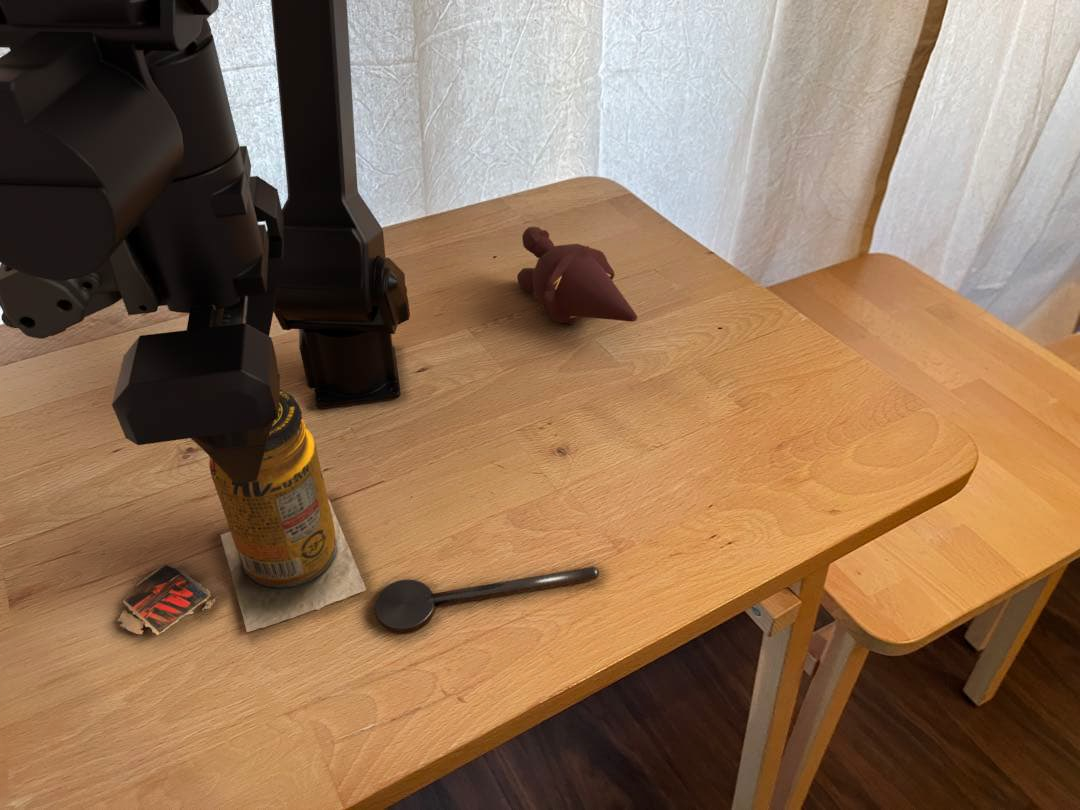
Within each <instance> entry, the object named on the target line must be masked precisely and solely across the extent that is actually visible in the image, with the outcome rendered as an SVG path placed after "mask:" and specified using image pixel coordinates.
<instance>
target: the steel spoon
mask: <svg viewBox="0 0 1080 810" xmlns="http://www.w3.org/2000/svg"><path fill="white" fill-rule="evenodd" d="M599 576H600V571H599V569H598V568H597V567H595V566H589V567H588V566H587V567H582V568H576V569H571V570H565V571H560V572H558V571H557V572H553V573H552V572H551V573H547V574H541V575H535V576H529V577H522V578H517V579H510V580H505V581H499V582H494V583H493V582H492V583H486V584H482V585H481V584H480V585H476V586H475V585H474V586H469V587H463V588H457V589H452V590H446V591H439V592H434V593H433V591H432V589H431V587H429V586H428V585H427V584H425V583H423V582H422V581H419V580H415V579H400V580H397V581H394V582H392V583H390V584H388V585H387V586H385V587H384V588H383V589H382V590H381V591H380V592H379V593H378V595H377V597H376V599H375V602H374V612H375V617H376V620H377V622H378V624H379V625H380V626H381V627H382V628H383V629H384V630H386V631H388V632H390V633H394V634H400V635H403V634H412V633H414V632H417V631H420V630H421V629H422V628H424V627H425V626H426V625H427V624H429V623H430V621H431V620H432V619H433V617H434V615H435V612H436V607H442V606H448V605H449V606H450V605H453V604H454V605H455V604H460V603H466V602H472V601H476V600H477V601H478V600H484V599H489V598H494V597H495V598H496V597H501V596H506V595H512V594H519V593H526V592H529V591H530V592H531V591H537V590H542V589H548V588H553V587H559V586H565V585H571V584H577V583H582V582H583V583H584V582H589V581H594V580H595V581H596V580H597V579H598V578H599Z"/></svg>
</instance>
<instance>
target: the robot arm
mask: <svg viewBox="0 0 1080 810" xmlns="http://www.w3.org/2000/svg"><path fill="white" fill-rule="evenodd" d="M347 2H348V0H270V6H271V17H272V28H273V29H272V30H273V38H274V39H273V41H274V51H275V52H274V53H275V62H276V74H277V84H278V85H277V86H278V96H279V109H280V118H281V119H280V120H281V130H282V132H281V133H282V143H283V153H284V155H283V156H284V163H285V165H284V167H285V176H286V187H287V188H286V189H287V198H286V201H285V203H284V204H283V207H282V205H281V204H282V203H281V199H280V195H279V190H278V188H276V187H275V186H273V185H271V184H270V183H269V182H268V181H266V180H264V179H263V178H261V176H259V175H252V176H251V172H252V163H251V159H250V155H249V151H248V150H249V149H248V146H247V145H240V142H239V137H238V133H237V131H236V126H235V122H234V118H233V113H232V109H231V105H230V100H229V97H228V94H227V89H226V83H225V80H224V76H223V72H222V67H221V64H220V59H219V56H218V51H217V47H216V42H215V38H214V34H213V33H212V28H211V25H210V23H209V21H208V19H209V18H210V17H211V16H212V15H213V14H214V13H215V12H216V11H218V9H219V6H220V2H219V0H0V48H4V49H5V48H9V51H8V52H6V53H5V54H3V55H2V56H0V263H1V264H0V308H1V310H2V314H1V316H0V317H1V321H2V323H3V324H4V325H5V326H6V327H9V328H12V329H19V330H20V331H21V332H22V333H23V334H24V335H25V336H27V337H30V338H35V339H39V340H40V339H41V340H42V339H47V338H48V337H53V336H58V335H59V334H61V333H64V332H65V331H66V330H67V329H68V328H71V327H73V326H76V325H77V324H80V323H82V322H83V321H84V320H85V318H88V317H90V316H92V315H93V314H96V313H98V312H101V311H103V310H105V309H108V308H109V307H112V306H113V305H115V304H116V303H118V302H119V301H121V300H122V302H123V304H124V307H125V309H126V313H127V316H133V315H134V316H135V315H144V314H153V313H157V311H158V309H159V307H165V306H166V307H167V309H168V311H169V312H173V313H181V314H188V317H187V318H188V319H187V325H186V329H185V330H177V331H167V332H159V333H151V334H142V335H139V336H138V337H137V338H136V340H135V341H134V342H133V344H132V345H131V346H130V347H129V348H128V350H127V351H126V352H125V353H124V355H123V358H122V362H121V366H120V370H119V374H118V378H117V381H116V382H117V383H116V387H115V390H114V394H113V399H112V402H111V406H112V409H113V411H114V413H115V416H116V418H117V420H118V423H119V426H120V429H121V430H122V433H123V435H124V437H125V439H126V440H129V442H131V443H133V444H135V445H137V446H144V445H151V444H157V443H166V442H173V441H179V440H188V439H190V440H192V441H193V442H194V443H195V444H196V445H198V446H199V447H200V448H201V449H202V450H203V452H204V453H205V454H207V456H209V458H210V457H211V458H212V459H213V461H214V462H215V463H216V464H217V465H218V466H219V467H220V468H221V469H222V470H223V471H224V472H225V473H226V474H227V475H228V476H229V477H230V478H231V479H232V481H233V482H234V483H238V484H240V483H247V482H254V481H256V480H257V478H258V474H259V471H260V467H261V463H262V460H263V456H264V452H265V449H266V445H267V442H268V438H269V435H270V431H271V428H272V425H273V422H274V420H276V419H277V418H278V411H279V392H280V390H281V389H280V388H281V387H280V386H281V375H280V374H281V373H279V369H278V361H277V360H278V359H277V354H276V351H275V350H276V349H275V347H274V343H273V339H272V337H271V336H270V335H271V334H270V333H271V327H272V323H273V317H274V315H275V317H276V320H277V322H278V323H279V325H280V327H281V329H282V330H283V331H291V330H298V332H299V333H298V347H299V352H300V358H301V362H302V366H303V367H302V368H303V371H304V375H305V379H306V384H307V387H308V388H309V389H310V390H313V389H314V402H315V406H316V408H318V409H327V408H328V409H329V408H334V407H335V408H336V407H342V406H350V405H351V406H352V405H357V404H358V405H359V404H365V403H373V402H380V401H388V400H394V399H398V398H400V397H401V396H402V392H401V391H402V390H401V385H400V377H399V371H398V370H399V369H398V363H397V355H396V348H395V346H394V345H393V338H392V335H395V334H396V331H397V328H398V326H399V325H402V324H403V323H405V322H407V321H409V320H410V316H411V312H410V311H411V310H410V303H409V297H408V287H407V286H406V275H405V272H404V271H403V270H402V269H401V268H400V267H399V266H398V265H397V264H396V263H395V262H394V260H392V258H390V257H387V256H386V250H385V249H386V247H385V237H384V230H383V227H382V226H381V224H380V223H379V221H378V220H377V218H376V216H375V215H374V214H373V212H372V211H371V209H370V208H369V206H368V204H367V203H366V202H365V200H364V199H363V197H362V196H361V194H360V193H359V186H358V174H357V173H358V171H357V153H356V137H355V121H354V105H353V104H354V101H353V86H352V69H351V53H350V35H349V18H348V3H347ZM263 222H265V223H264V224H259V223H263Z"/></svg>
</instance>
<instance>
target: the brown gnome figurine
mask: <svg viewBox="0 0 1080 810" xmlns="http://www.w3.org/2000/svg"><path fill="white" fill-rule="evenodd" d="M521 236H522V237H521V238H522V246H523V247H524V248H525V250H527V251H528V252H529V253H531V254H533V255H534V256H535V257H536V258H537V259H538V260H537V262H536V264H535V267H523V268H522V269H521V270H520V271H519V272H518V273H517V276H516V278H517V283H518V285H519V286H521V287H522V288H523V289H524V290H526V291H527V292H530V293H534V296H535V299H536V301H537V302H538V304H540V305H541V307H543V308H544V309H545V310H546V311H547V312H548V313H549V316H550V318H551V320H553V321H555V322H560V323H565V324H570V325H575V324H577V323H578V322H580V321H581V320H582V319H585V318H589V319H590V318H592V319H600V320H601V319H602V320H612V321H613V320H614V321H622V322H636V321H637V319H638V315H637V314H636V312H635V310H634V309H633V307H632V306H631V305H630V303H629V302H628V301H627V300H626V298H625V297H624V295H623V293H622V292H621V291H620V289H619V288H618V287H617V285H616V284H615V283H614V281H613V279H614V277H615V276H616V274H615V271H614V269H613V268H612V266H611V265H610V263H609V262H608V259H607V256H606V255H605V253H604V252H603V251H602V250H599V249H596V248H592V247H590V246H588V245H584V244H580V243H568V244H560V245H555V244H554V242H553V241H552V240H551V238H550V233H549V231H547V230H546V229H541V228H540V227H539V226H528V227H526V229H525V230H524V231H523V233H522V235H521Z"/></svg>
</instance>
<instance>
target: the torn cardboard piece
mask: <svg viewBox="0 0 1080 810" xmlns="http://www.w3.org/2000/svg"><path fill="white" fill-rule="evenodd" d="M202 584H203V583H199V582H197V581H196V580H195V579H193V578H191V576H190V575H189V574H188V573H187V571H185V570H183V569H181V568H176V567H172V566H170V565H167V564H166V563H165V564H163V565H162V566H159V567H158V568H157V569H156V570H154V571H152V573H149V575H148V576H146V577H144V578H143V579H142V580H141V581H140V582H138V583H135V585H136V586H135V587H134V588H133V589H132V591H131V592H130V593H129V594H128V596H126V598H124V600H123V601H122V603H124V605H125V606H126V607H127V608H128V610H129V611H130V612H132V613H130V612H129V613H128V610H127V609H124V610H123V611H122V613H121V614H120V616H119V618H118V619H117V622H121V623H120V624H119V627H122V629H123V630H125V629H126V630H127V631H129V632H131V633H134V634H136V635H142V634H143V633H144V632H145V630H143V629H144V627H146V628H150V629H151V631H152V633H153V634H156V636H159V635H161V634H162V633H165V632H166V630H168V629H169V628H170V627H171V626H173V625H175V624H176V623H178V622H179V621H180V620H181V619H183V617H186V616H187V615H192V614H194V610H195V609H196V608H197V607H198V606H199V605H202V604H203V603H205V602H206V603H205V605H204V606H203V608H202V610H209V609H211V607H212V606H213V605H214V604H215V602H216V601H217V600H218V598H220V595H218V596H215V597H214V598H212V599H210V600H208V599H209V598H210V597H211V596H212V595H211V591H210V590H209V589H207V588H205V587H204V586H202ZM134 615H135V616H134ZM137 617H138V618H137Z"/></svg>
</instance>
